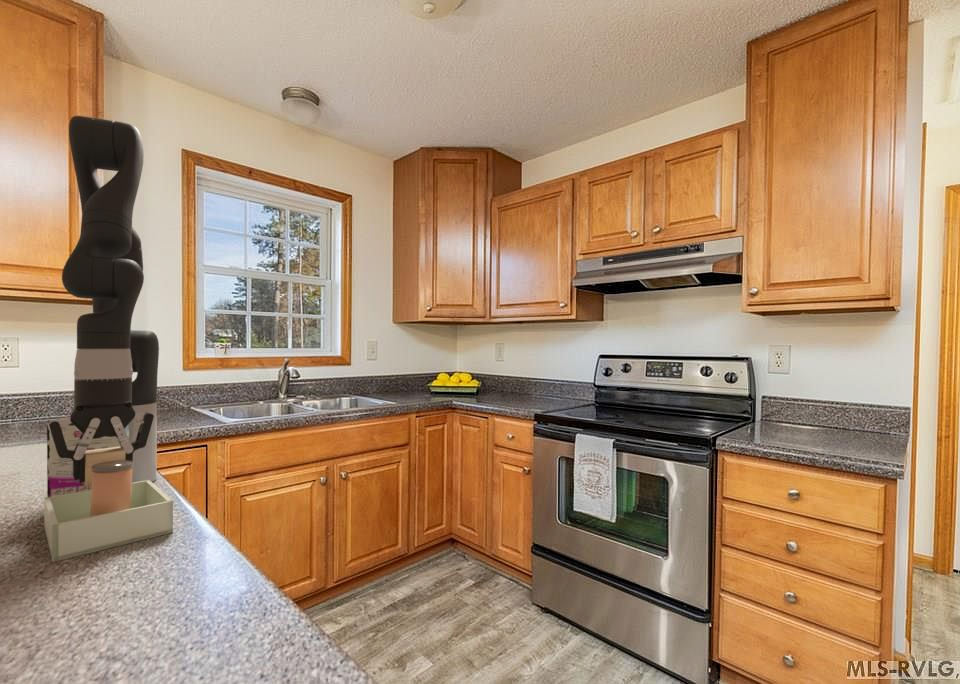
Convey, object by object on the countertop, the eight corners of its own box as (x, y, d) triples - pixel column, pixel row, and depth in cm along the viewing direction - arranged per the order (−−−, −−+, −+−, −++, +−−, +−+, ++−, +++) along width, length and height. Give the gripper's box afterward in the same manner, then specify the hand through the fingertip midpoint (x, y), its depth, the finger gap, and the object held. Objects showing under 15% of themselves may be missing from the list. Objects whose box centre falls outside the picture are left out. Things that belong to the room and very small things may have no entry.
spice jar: (97, 527, 75) (100, 461, 75) (135, 524, 76) (138, 459, 76) (82, 540, 70) (85, 469, 70) (123, 537, 72) (126, 467, 71)
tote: (44, 528, 76) (44, 497, 76) (148, 506, 87) (149, 479, 87) (52, 562, 64) (52, 525, 64) (172, 532, 75) (172, 501, 75)
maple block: (81, 481, 78) (81, 451, 78) (119, 475, 81) (119, 446, 81) (86, 487, 74) (86, 455, 74) (125, 480, 78) (125, 450, 78)
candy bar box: (130, 498, 91) (130, 414, 91) (124, 506, 87) (124, 418, 87) (55, 508, 86) (55, 419, 86) (45, 517, 82) (45, 423, 82)
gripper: (150, 373, 86) (150, 466, 86) (44, 377, 76) (43, 483, 75) (160, 375, 81) (159, 474, 80) (47, 379, 70) (45, 492, 70)
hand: (103, 477), depth 78 cm, fingers closed on maple block, 5 cm apart
